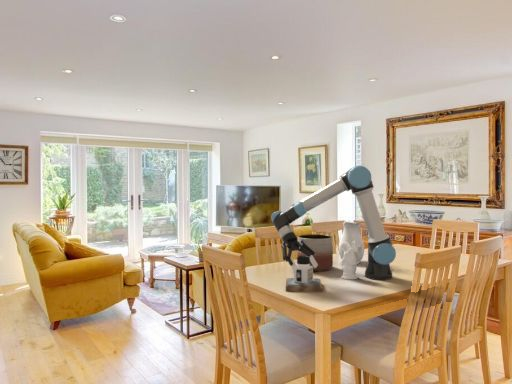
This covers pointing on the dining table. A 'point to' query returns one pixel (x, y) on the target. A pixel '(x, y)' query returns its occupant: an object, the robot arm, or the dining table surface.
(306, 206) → the robot arm
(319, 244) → the planter
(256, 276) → the dining table surface
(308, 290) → the wooden framed tray
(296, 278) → the container
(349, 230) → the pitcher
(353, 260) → the cherub figurine
